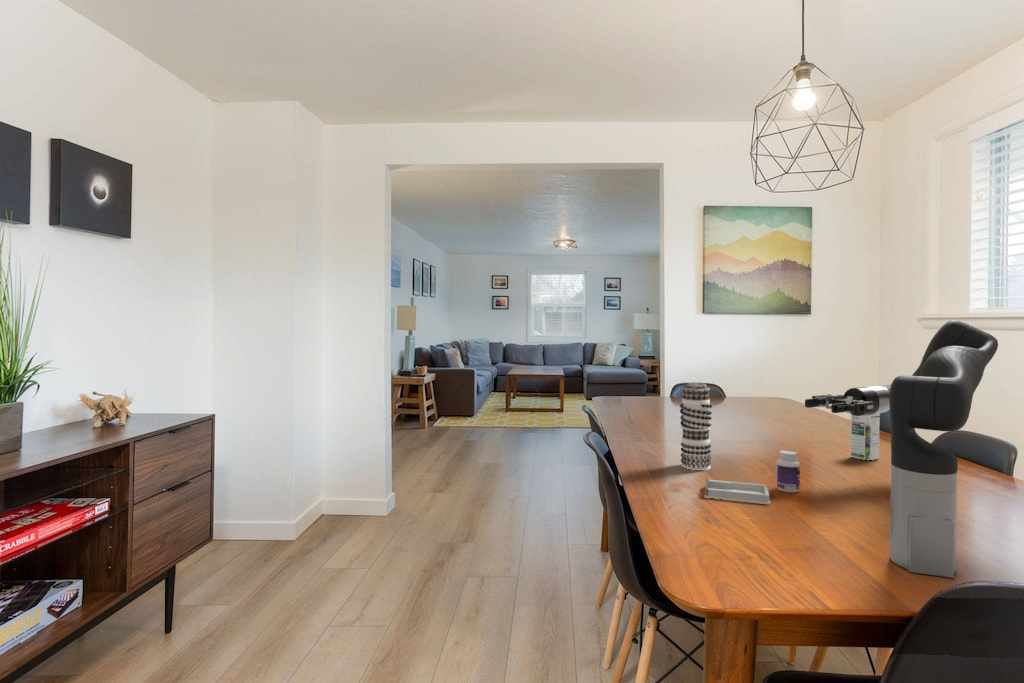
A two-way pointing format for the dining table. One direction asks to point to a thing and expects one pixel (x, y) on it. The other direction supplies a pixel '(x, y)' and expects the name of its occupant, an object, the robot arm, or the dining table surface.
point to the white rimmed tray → (737, 491)
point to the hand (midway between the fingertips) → (818, 406)
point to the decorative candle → (695, 427)
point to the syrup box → (865, 437)
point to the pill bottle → (788, 472)
